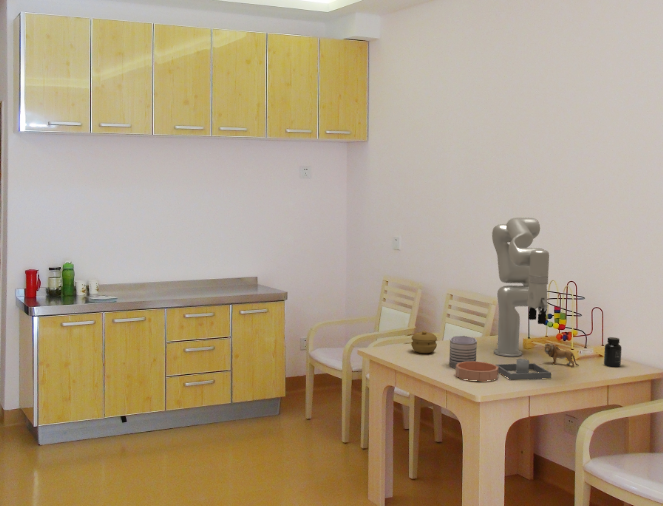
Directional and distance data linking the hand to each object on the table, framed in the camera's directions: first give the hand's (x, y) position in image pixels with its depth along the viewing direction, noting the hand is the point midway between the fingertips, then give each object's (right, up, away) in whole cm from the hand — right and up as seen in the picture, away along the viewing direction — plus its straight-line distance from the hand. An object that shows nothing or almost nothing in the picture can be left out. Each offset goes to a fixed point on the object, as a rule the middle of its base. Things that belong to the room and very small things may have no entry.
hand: (536, 321), depth 306 cm
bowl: (-25, -22, -3) cm, 34 cm away
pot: (-42, -18, +39) cm, 59 cm away
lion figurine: (+15, -21, +19) cm, 32 cm away
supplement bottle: (+38, -21, +19) cm, 47 cm away
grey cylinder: (-6, -22, +1) cm, 23 cm away
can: (-28, -21, +14) cm, 37 cm away
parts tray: (-6, -22, +1) cm, 23 cm away
